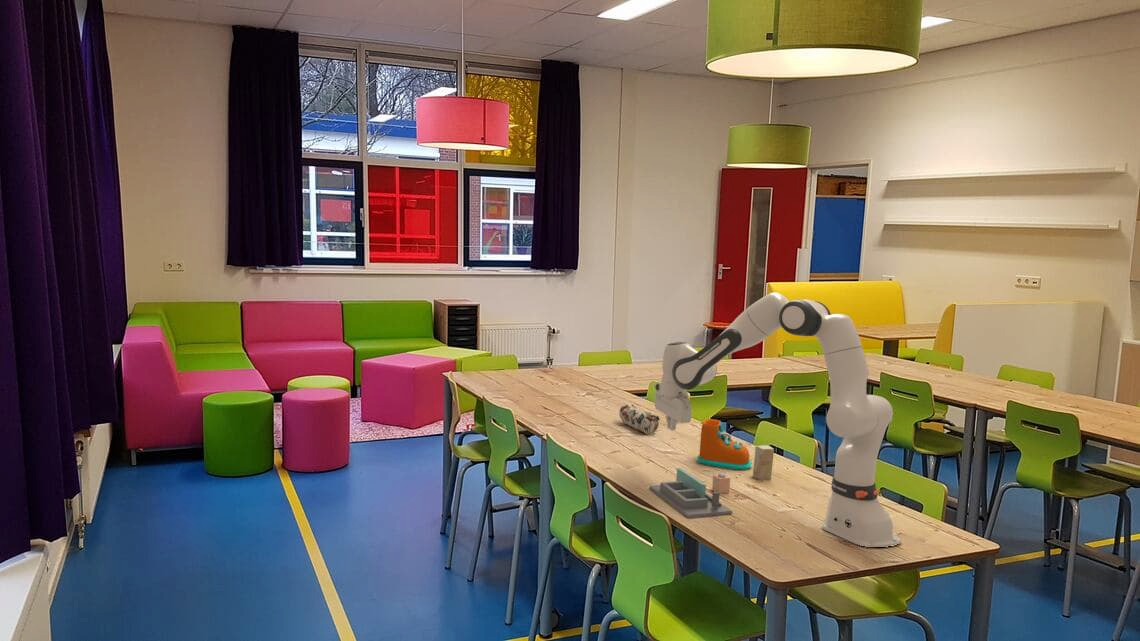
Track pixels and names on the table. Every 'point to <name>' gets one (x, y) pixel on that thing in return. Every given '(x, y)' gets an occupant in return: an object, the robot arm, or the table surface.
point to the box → (763, 462)
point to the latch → (691, 482)
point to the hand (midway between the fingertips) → (671, 429)
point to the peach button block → (721, 483)
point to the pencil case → (639, 418)
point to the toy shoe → (721, 448)
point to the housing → (690, 500)
